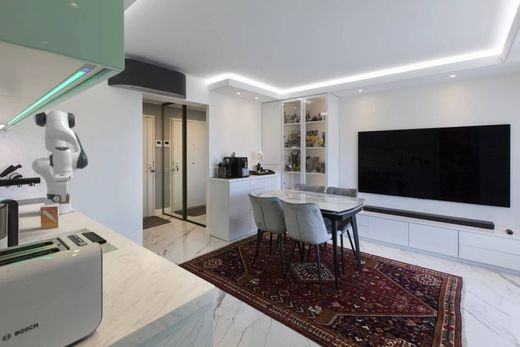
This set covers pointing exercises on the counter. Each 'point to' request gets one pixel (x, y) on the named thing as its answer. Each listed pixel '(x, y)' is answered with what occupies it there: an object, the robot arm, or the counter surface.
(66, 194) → the walnut cube
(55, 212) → the small box
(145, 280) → the counter surface
